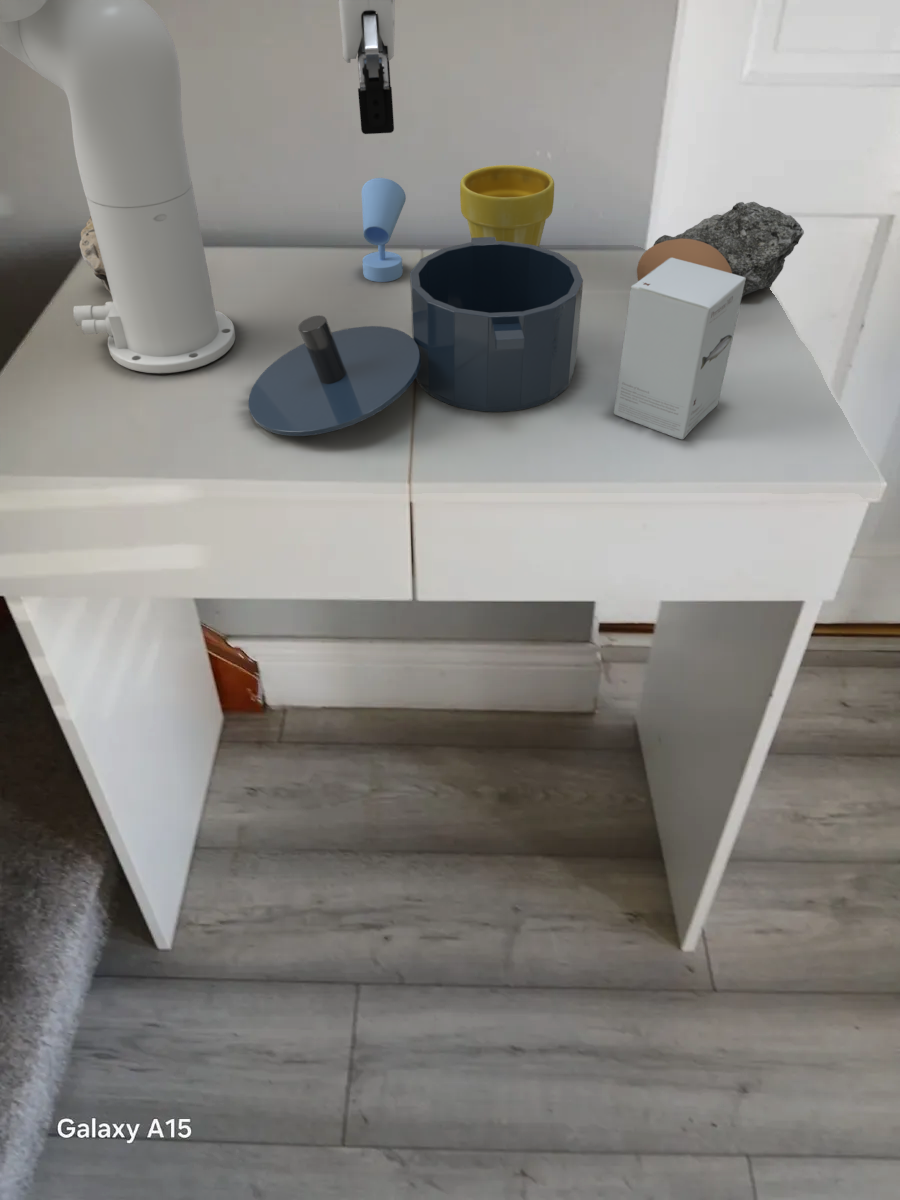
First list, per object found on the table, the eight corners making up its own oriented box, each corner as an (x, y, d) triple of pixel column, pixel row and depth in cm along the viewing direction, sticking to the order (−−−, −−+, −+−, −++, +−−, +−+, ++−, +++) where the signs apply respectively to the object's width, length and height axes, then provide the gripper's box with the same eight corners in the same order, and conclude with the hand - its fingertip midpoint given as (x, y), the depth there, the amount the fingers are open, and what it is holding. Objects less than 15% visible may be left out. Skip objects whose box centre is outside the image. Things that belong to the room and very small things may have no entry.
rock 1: (137, 242, 113) (64, 210, 105) (181, 224, 109) (109, 189, 101) (140, 315, 113) (67, 289, 104) (184, 299, 109) (112, 271, 100)
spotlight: (367, 258, 113) (356, 283, 108) (362, 170, 106) (350, 193, 101) (409, 260, 113) (400, 285, 108) (406, 171, 106) (396, 195, 101)
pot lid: (249, 461, 84) (218, 399, 80) (255, 365, 96) (228, 306, 92) (431, 409, 82) (410, 342, 78) (414, 318, 94) (395, 255, 90)
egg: (757, 248, 98) (668, 222, 104) (716, 260, 93) (626, 232, 99) (738, 321, 102) (654, 292, 108) (699, 336, 98) (613, 305, 104)
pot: (420, 432, 86) (417, 335, 80) (408, 322, 102) (405, 233, 95) (592, 423, 87) (603, 327, 81) (554, 315, 103) (561, 227, 96)
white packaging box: (683, 442, 85) (709, 308, 76) (610, 415, 88) (627, 283, 80) (720, 406, 89) (749, 275, 81) (649, 381, 93) (669, 253, 84)
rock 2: (635, 257, 107) (663, 270, 116) (720, 329, 104) (742, 338, 112) (715, 152, 101) (738, 175, 110) (807, 226, 98) (823, 243, 107)
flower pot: (446, 256, 114) (446, 170, 107) (526, 242, 116) (531, 158, 110) (480, 292, 107) (481, 203, 100) (564, 277, 109) (571, 189, 103)
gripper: (322, -102, 92) (341, 91, 104) (318, -68, 80) (339, 148, 92) (400, -105, 93) (410, 88, 105) (408, -71, 80) (417, 144, 92)
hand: (377, 116), depth 98 cm, fingers open, 9 cm apart
